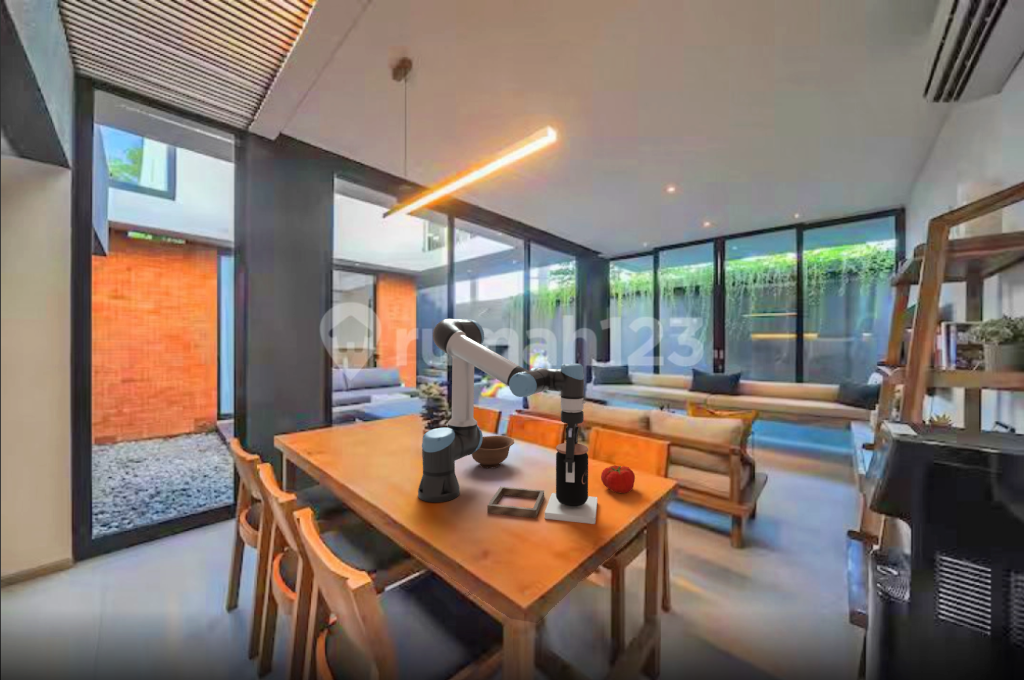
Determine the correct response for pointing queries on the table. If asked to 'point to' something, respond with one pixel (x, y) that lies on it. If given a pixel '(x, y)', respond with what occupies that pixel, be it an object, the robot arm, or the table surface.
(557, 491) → the coffee jar
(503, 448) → the bowl
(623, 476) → the tomato
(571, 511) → the tile
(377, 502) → the table surface
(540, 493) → the holder
